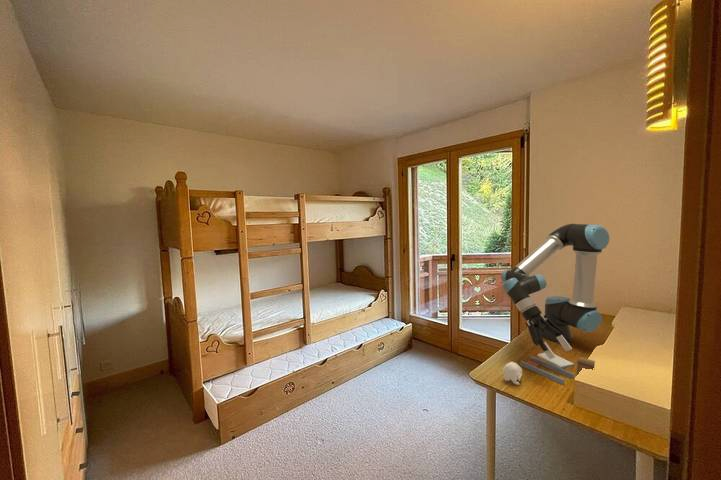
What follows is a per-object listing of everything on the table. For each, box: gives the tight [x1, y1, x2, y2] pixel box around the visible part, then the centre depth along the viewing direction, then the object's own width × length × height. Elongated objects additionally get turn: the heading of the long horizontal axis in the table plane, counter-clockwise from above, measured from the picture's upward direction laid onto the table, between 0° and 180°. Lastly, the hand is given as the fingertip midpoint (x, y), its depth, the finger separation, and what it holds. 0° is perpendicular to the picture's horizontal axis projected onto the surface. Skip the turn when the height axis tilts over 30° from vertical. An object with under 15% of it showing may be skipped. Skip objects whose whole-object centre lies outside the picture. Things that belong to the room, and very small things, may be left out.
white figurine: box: [502, 361, 523, 386], centre depth 125 cm, size 6×8×12 cm
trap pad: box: [526, 360, 540, 367], centre depth 137 cm, size 6×4×1 cm
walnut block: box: [576, 356, 596, 376], centre depth 120 cm, size 5×5×11 cm
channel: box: [519, 355, 575, 385], centre depth 131 cm, size 9×18×2 cm, turn 31°
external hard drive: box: [537, 352, 575, 369], centre depth 141 cm, size 2×8×12 cm
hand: (561, 354), depth 124 cm, fingers open, 13 cm apart
